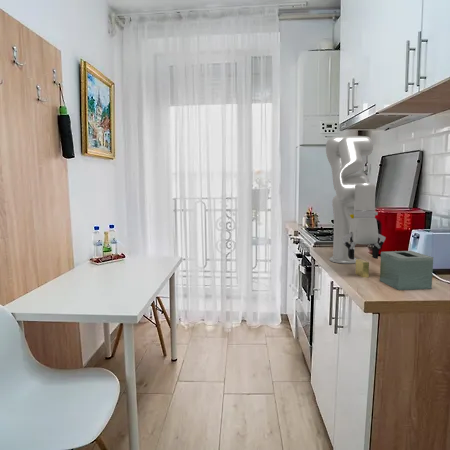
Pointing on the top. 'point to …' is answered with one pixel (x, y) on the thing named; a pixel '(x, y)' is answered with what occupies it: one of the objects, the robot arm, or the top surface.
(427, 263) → the coin box
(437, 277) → the top surface
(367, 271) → the wooden block
